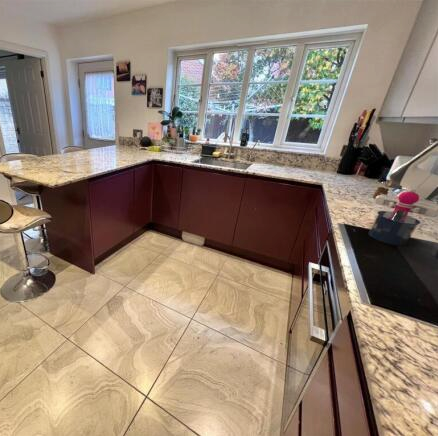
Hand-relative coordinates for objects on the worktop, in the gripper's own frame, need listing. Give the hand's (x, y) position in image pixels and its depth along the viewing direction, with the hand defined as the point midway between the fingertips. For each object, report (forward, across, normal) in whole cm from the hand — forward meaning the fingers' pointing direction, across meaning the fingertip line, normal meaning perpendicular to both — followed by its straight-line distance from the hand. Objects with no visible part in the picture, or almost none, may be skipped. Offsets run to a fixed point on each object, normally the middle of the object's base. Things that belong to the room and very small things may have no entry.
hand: (402, 208), depth 100 cm
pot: (+11, 0, +11) cm, 16 cm away
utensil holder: (-59, -13, +11) cm, 61 cm away
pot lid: (+11, 0, +2) cm, 11 cm away
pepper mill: (-1, 0, +11) cm, 11 cm away
